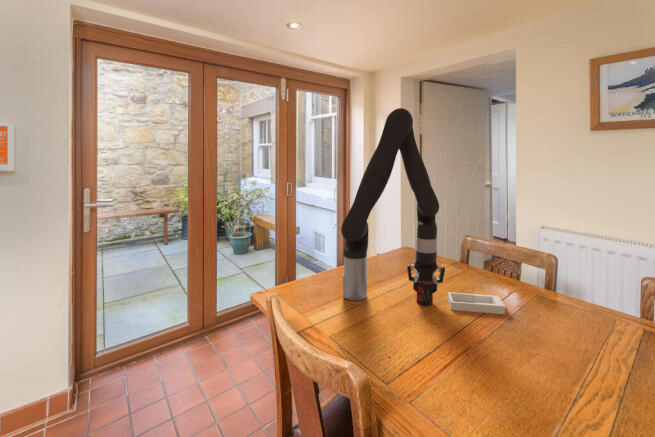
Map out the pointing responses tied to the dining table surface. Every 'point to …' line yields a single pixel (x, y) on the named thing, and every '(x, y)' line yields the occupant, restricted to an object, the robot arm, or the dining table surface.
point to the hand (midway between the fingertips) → (424, 291)
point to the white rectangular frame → (476, 303)
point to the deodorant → (425, 286)
